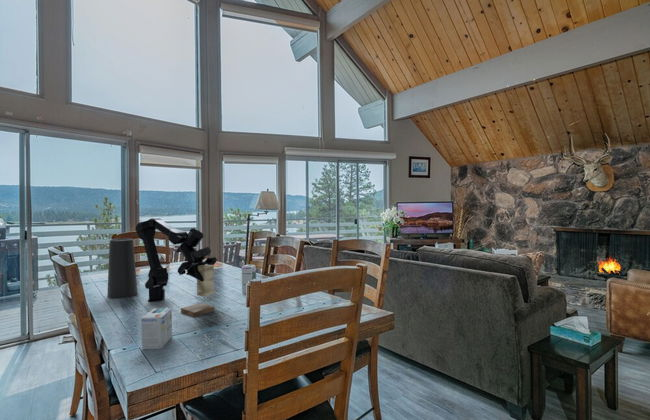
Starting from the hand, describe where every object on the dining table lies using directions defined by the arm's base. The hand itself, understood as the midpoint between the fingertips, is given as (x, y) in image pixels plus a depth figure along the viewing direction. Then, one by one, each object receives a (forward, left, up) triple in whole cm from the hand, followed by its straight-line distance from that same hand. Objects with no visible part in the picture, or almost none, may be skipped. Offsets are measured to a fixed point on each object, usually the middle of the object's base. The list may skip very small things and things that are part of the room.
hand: (207, 279), depth 162 cm
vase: (-45, +38, -14) cm, 60 cm away
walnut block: (-4, -2, -14) cm, 15 cm away
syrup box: (+19, +26, -14) cm, 35 cm away
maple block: (-1, +1, -7) cm, 7 cm away
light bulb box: (-14, -35, -14) cm, 40 cm away
